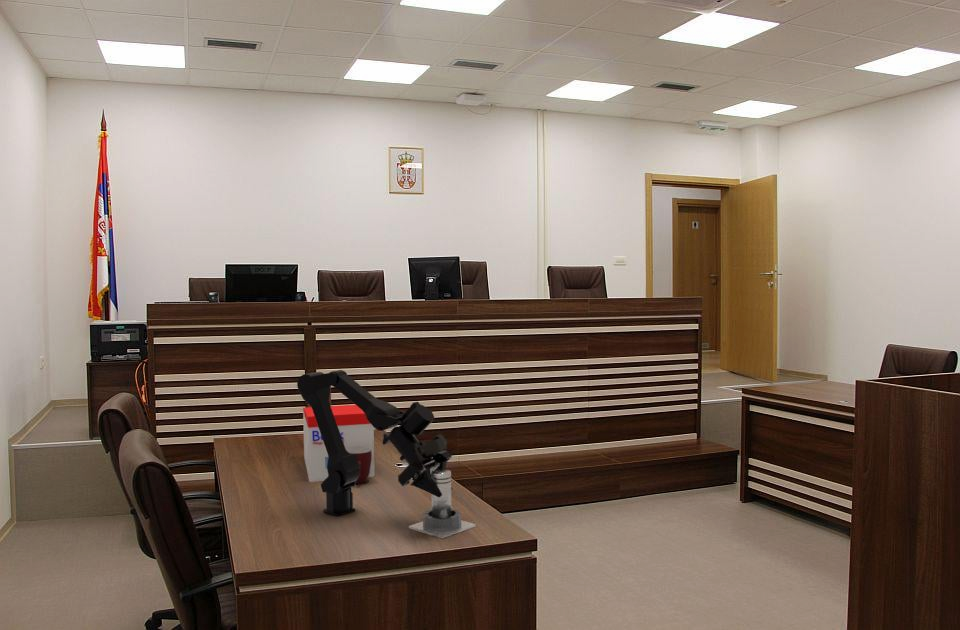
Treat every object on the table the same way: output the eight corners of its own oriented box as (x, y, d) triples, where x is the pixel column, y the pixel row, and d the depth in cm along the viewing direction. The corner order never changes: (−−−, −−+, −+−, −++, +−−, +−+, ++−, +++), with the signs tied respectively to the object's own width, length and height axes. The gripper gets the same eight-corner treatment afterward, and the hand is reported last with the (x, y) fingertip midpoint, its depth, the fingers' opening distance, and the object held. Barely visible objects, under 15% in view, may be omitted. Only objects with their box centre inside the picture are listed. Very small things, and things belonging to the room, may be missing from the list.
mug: (374, 486, 230) (373, 454, 230) (347, 488, 228) (347, 456, 228) (370, 477, 241) (370, 447, 240) (345, 479, 239) (344, 448, 238)
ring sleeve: (441, 538, 183) (441, 524, 182) (408, 528, 191) (408, 514, 191) (475, 526, 191) (475, 512, 191) (442, 517, 200) (442, 503, 199)
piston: (436, 522, 188) (436, 475, 187) (428, 517, 192) (428, 470, 192) (454, 519, 190) (454, 472, 190) (446, 514, 195) (445, 468, 194)
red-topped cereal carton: (309, 482, 236) (307, 416, 235) (304, 457, 270) (302, 400, 269) (375, 477, 242) (373, 413, 241) (362, 453, 275) (360, 397, 275)
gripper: (407, 433, 183) (447, 483, 179) (445, 420, 200) (482, 465, 196) (381, 461, 187) (419, 511, 183) (420, 446, 204) (455, 491, 200)
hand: (446, 493), depth 190 cm, fingers closed on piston, 5 cm apart
